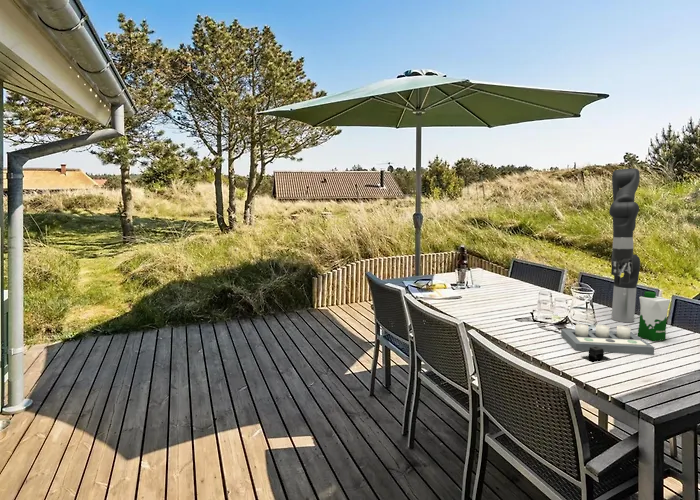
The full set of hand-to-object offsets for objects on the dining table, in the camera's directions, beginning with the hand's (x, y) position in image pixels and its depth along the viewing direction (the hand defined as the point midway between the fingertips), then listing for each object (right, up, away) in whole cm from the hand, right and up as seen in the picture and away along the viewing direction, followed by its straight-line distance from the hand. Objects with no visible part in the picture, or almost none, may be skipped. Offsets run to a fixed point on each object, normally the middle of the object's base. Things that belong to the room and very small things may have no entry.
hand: (621, 283), depth 174 cm
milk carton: (+11, -24, -3) cm, 26 cm away
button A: (-6, -23, -9) cm, 25 cm away
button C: (-22, -22, -6) cm, 32 cm away
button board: (-14, -25, -10) cm, 30 cm away
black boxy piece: (-26, -28, -23) cm, 45 cm away
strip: (-15, -23, -15) cm, 31 cm away
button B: (-14, -23, -8) cm, 27 cm away
